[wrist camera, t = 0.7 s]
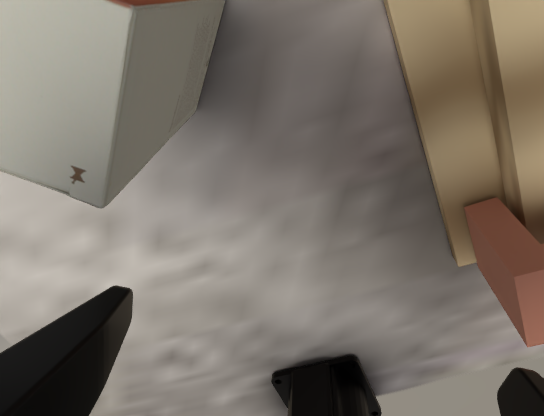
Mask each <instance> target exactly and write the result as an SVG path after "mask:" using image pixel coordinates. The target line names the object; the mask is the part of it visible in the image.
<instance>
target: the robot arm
mask: <svg viewBox="0 0 544 416" xmlns="http://www.w3.org/2000/svg"><path fill="white" fill-rule="evenodd" d="M132 304H133V292H132V290H131V289H130V288H126V287H121V286H112V287H110V288H109V289H107V290H105V291H104V292H102V293H100V294H99V295H97V296H95V297H94V298H92V299H90V300H88V301H87V302H85V303H83V304H82V305H80V306H78V307H77V308H75V309H73V310H72V311H70V312H68V313H67V314H65V315H63V316H62V317H60V318H58V319H57V320H55V321H53V322H52V323H50V324H48V325H47V326H45V327H43V328H42V329H40V330H38V331H36V332H35V333H33V334H31V335H30V336H28V337H26V338H25V339H23V340H21V341H20V342H18V343H16V344H15V345H13V346H11V347H10V348H8V349H6V350H5V351H3V352H1V353H0V416H89V414H90V413H91V411H92V409H93V407H94V405H95V403H96V402H97V400H98V398H99V396H100V394H101V392H102V390H103V388H104V386H105V384H106V381H107V379H108V377H109V374H110V372H111V370H112V367H113V365H114V362H115V360H116V357H117V355H118V353H119V350H120V348H121V345H122V343H123V340H124V338H125V336H126V333H127V331H128V328H129V326H130V323H131V319H132ZM271 382H272V384H273V386H274V387H275V389H276V390H277V392H278V394H279V395H280V397H281V398H282V400H283V402H284V403H285V405H286V406H287V408H288V416H381V408H380V405H379V403H378V401H377V399H376V397H375V395H374V392H373V390H372V388H371V386H370V384H369V382H368V380H367V377H366V375H365V373H364V371H363V369H362V367H361V365H360V362H359V360H358V359H357V357H355V356H346V357H342V358H338V359H333V360H329V361H325V362H320V363H316V364H311V365H307V366H303V367H298V368H294V369H290V370H285V371H281V372H277V373H274V374H273V375H272V380H271ZM497 400H498V405H499V409H500V414H501V416H544V378H542V377H541V376H540V375H539V374H538V373H537V372H535V371H533V370H528V369H524V368H514V369H513V370H512V371H511V372H510V374H509V375H508V376H507V378H506V379H505V381H504V382H503V383H502V385H501V386H500V388H499V390H498V393H497Z"/></svg>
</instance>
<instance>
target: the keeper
mask: <svg viewBox="0 0 544 416" xmlns="http://www.w3.org/2000/svg"><path fill="white" fill-rule="evenodd" d="M464 210H465V214H466V218H467V223H468V227H469V231H470V235H471V239H472V243H473V247H474V252H475V256H476V260H477V264H478V267H479V269H480V271H481V272H482V274H483V276H484V277H485V279H486V280H487V282H488V284H489V285H490V287H491V289H492V290H493V292H494V293H495V295H496V297H497V298H498V300H499V302H500V303H501V305H502V306H503V308H504V310H505V311H506V313H507V315H508V316H509V318H510V319H511V321H512V323H513V324H514V326H515V328H516V329H517V331H518V332H519V334H520V336H521V337H522V339H523V341H524V342H525V344H526V345H527V347H531V346H536V345H540V344H544V244H540V243H539V242H538V241H537V240H536V239H535V238H534V237H533V236H532V235H531V233H530V232H529V231H528V230H527V229H526V228H525V227H524V226H523V225H522V224H521V223H520V221H519V220H518V219H517V218H516V217H515V216H514V215H513V214H512V213H511V212H510V211H509V209H508V208H507V207H506V206H505V205H504V204H503V203H502V202H501V201H500V200H499V198H498V197H496V198H492V199H489V200H486V201H482V202H479V203H476V204H473V205H469V206H466V207H464Z"/></svg>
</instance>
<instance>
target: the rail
mask: <svg viewBox="0 0 544 416" xmlns="http://www.w3.org/2000/svg"><path fill="white" fill-rule="evenodd" d="M383 1H384V4H385V8H386V12H387V15H388V19H389V23H390V26H391V30H392V34H393V37H394V41H395V45H396V48H397V52H398V56H399V59H400V63H401V67H402V71H403V74H404V78H405V82H406V85H407V89H408V93H409V96H410V100H411V104H412V107H413V111H414V115H415V118H416V122H417V126H418V129H419V133H420V137H421V140H422V144H423V148H424V151H425V155H426V159H427V162H428V166H429V170H430V173H431V177H432V181H433V185H434V188H435V192H436V196H437V199H438V203H439V207H440V210H441V214H442V218H443V221H444V225H445V229H446V232H447V236H448V240H449V243H450V247H451V251H452V254H453V257H454V259H455V261H456V263H457V265H458V266H459V267H461V266H465V265H468V264H472V263H476V262H477V260H476V256H475V252H474V247H473V243H472V239H471V235H470V231H469V227H468V223H467V218H466V214H465V210H464V207H466V206H469V205H473V204H476V203H479V202H482V201H486V200H489V199H492V198H496V197H498V198H499V200H500V201H501V202H502V203H503V204H504V205H505V206H506V207H507V208H508V209H509V211H510V212H511V213H512V214H513V215H514V216H515V217H516V218H517V219H518V220H519V221H520V223H521V224H522V225H523V226H524V227H525V228H526V229H527V230H528V231H529V232H530V233H531V235H532V236H533V237H534V238H535V239H536V240H537V241H538V242H539V243H540V244H544V0H383Z"/></svg>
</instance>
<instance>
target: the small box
mask: <svg viewBox="0 0 544 416" xmlns="http://www.w3.org/2000/svg"><path fill="white" fill-rule="evenodd" d="M224 4H225V0H0V171H1V172H4V173H7V174H10V175H13V176H16V177H18V178H21V179H24V180H27V181H30V182H33V183H36V184H39V185H41V186H44V187H47V188H49V189H52V190H55V191H58V192H60V193H63V194H66V195H68V196H70V197H72V198H74V199H77V200H80V201H82V202H85V203H88V204H90V205H92V206H95V207H97V208H104V207H105V206H107V205H108V204H109V203H110V202H111V201H112V200H113V199H114V198H115V197H116V196H117V195H118V194H119V192H120V191H121V190H122V189H123V188H124V187H125V186H126V185H127V184H128V183H129V182H130V181H131V180H132V179H133V178H134V177H135V176H136V175H137V174H138V172H139V171H140V170H141V169H142V168H143V167H144V166H145V165H146V164H147V163H148V161H149V160H150V159H151V158H152V157H153V156H154V155H155V154H156V153H157V152H158V151H159V150H160V149H161V147H162V146H163V145H164V144H165V143H166V142H167V141H168V140H169V139H170V138H171V137H172V136H173V135H174V134H175V133H176V132H177V131H178V130H179V129H180V128H181V126H182V125H183V124H184V123H185V122H186V121H187V120H188V119H189V118H190V117H191V116H192V115H193V114H194V113H195V112H196V109H197V105H198V101H199V97H200V94H201V90H202V86H203V83H204V79H205V75H206V71H207V68H208V64H209V60H210V57H211V53H212V49H213V46H214V42H215V38H216V34H217V31H218V27H219V23H220V19H221V15H222V12H223V8H224Z"/></svg>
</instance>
